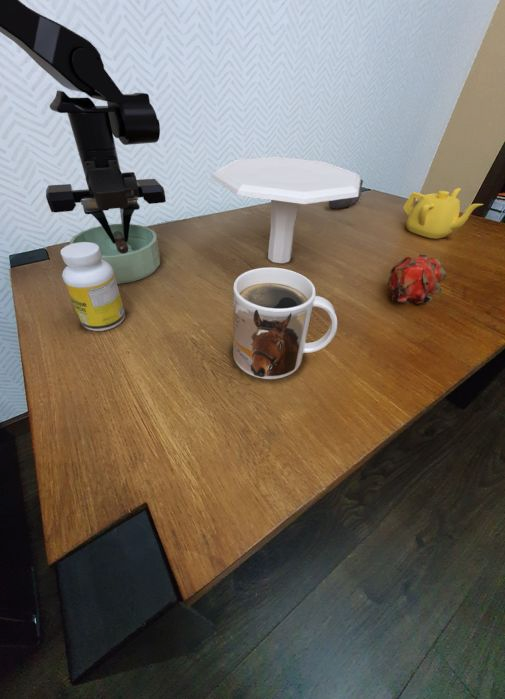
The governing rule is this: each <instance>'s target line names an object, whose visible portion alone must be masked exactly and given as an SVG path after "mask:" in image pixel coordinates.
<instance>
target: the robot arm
mask: <svg viewBox="0 0 505 699" xmlns="http://www.w3.org/2000/svg"><path fill="white" fill-rule="evenodd" d="M0 33H1V34H2V35H3V36H5V37H6V38H8V39H10V40H11V41H12V42H14V43H15V44H16V45H17V46H18V47H20V48H21V49H22V50H23V51H24V52H25V53H26V54H27V55H28V56H29V58H31V59H32V60H33V61H34V62H35V63H36V64H37V65H38V66H39V67H40V68H41V69H42V70H44V71H45V72H46V73H47V74H48V75H50V76H51V77H52V78H53V80H55V81H56V82H58V83H59V84H60V85H61V86H63V87H64V88H65V89H68V90H70V91H74V92H80V93H83V94H86V95H87V96H88V97H69V95H68V94H67V93H66V92H65V91H63V90H56V93H55V96H54V99H53V100H52V102H50V104H49V109H50V110H51V111H53V112H55V113H60V114H67V117H68V121H69V123H70V124H69V125H70V127H71V131H72V134H73V138H74V141H75V142H74V143H75V145H76V149H77V153H78V156H79V159H80V162H81V166H82V167H81V168H82V170H83V173H84V176H85V182H86V184H87V189H85V188H84V189H73V186H72V183H67V184H65V183H64V184H50V185H49V184H48V185H47V188H46V189H45V198H46V202H47V204H48V207H49V210H50V212H51V213H64V212H73V211H74V210H75V208H76V206H77V204H78V203H80V205H81V206H82V208H83V212H84V214H85V215H92V217H94V218H95V219H96V221H97V222H98V223H99V224H100V226H102V227H103V228H104V230H105V231H106V233H107V235H108V236H109V238H110V239H111V241H112V242H113V244H115V240H114V236H113V233H112V231H111V228H110V226H109V225H110V223H109V221H108V219H107V216H106V214H105V212H106V211H109V210H113V209H119V213H120V214H119V215H120V221H121V224H122V230H123V235H124V239H125V241H126V242H128V236H129V227H130V224H131V220H132V217H133V214H134V212H135V211H136V210H141V209H140V208H141V207H140V203H139V202H138V201H139V198H142V199H143V201H145V202H146V203H147V204H149V205H154V204H164V203H166V202H167V200H166V192H165V188H164V186H163V185H162V184H161V183H160V182H159V181H158V180H157V179H156V178H145V179H137V176H136V173H135V172H134V171H129V172H122V171H121V166H120V161H119V157H118V152H117V148H116V143H115V138H116V139H118V140H119V141H120V143H121V144H122V145H123V146H129V145H130V146H131V145H140V144H142V145H143V144H153V143H155V144H156V143H157V142H158V141H159V140H160V136H161V125H160V120H159V119H158V116H157V113H156V111H155V109H154V106H153V105H152V104H151V101H150V100H151V99H150V95H149V93H146V92H134V93H123V92H122V91H121V89H120V88H119V87H118V85H117V84H116V83H115V82H114V80H113V79H112V77H111V76H110V75H109V73H108V71H107V70H106V69H105V65H104V62H103V60H102V56H101V53H100V52H99V50H98V49H97V48H96V46H95V45H94V44H93V43H92V42H91V41H89V40H88V39H86V38H85V37H83V36H81V35H80V34H78V33H76V32H75V31H73V30H71V29H69V28H68V27H66V26H65V25H63V24H61V23H59V22H57V21H55V20H53V19H50V18H48V17H46V16H44V15H42V14H40V13H39V12H37V11H35V10H34V9H32V8H30V7H28V6H27V5H25V4H24V3H23V2H22V1H21V0H0ZM92 99H94V100H100V101H104V102H106V105H95V103H94V101H93V100H92Z"/></svg>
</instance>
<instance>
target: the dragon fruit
mask: <svg viewBox="0 0 505 699" xmlns="http://www.w3.org/2000/svg"><path fill="white" fill-rule="evenodd" d="M446 278H447V271H446V270H445V268H444V266H443V265H442V263H441V260H440V259H439V258H436V257H427V255H426V254H424V253H420V254H419V255H418V256H417V257H416V258H413V257H411V256H406V257H404V258H402V259H401V260H400V261H399V262H398V263H397V264H396V265H394V266H393V267H392V269H391V270H390V272H389V277H388V280H387V286H389V290H390V293H391V294H392V295H391V301H392V302H395V301H397V302H398V303H403V304H408V303H410V302H411V300H413V302H414V303H415V304H427V303H429V302H431V301H433V300H434V298H433V297H432V296H429V295H428V294H431V295H439V294H441V293H442V291H443V289H442V288H441V285H440V283H442V282H443V281H444V280H445V279H446Z"/></svg>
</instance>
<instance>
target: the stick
mask: <svg viewBox="0 0 505 699" xmlns="http://www.w3.org/2000/svg"><path fill="white" fill-rule="evenodd" d="M113 236H114V240H115V245H116V247H117V250H118V252H119V253H121V254H125V253H127V252H128V246H127V243H126V241H125V239H124V236H123V234H122V233H121V232H119V231H116V232H114V233H113Z"/></svg>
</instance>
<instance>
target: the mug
mask: <svg viewBox="0 0 505 699" xmlns="http://www.w3.org/2000/svg"><path fill="white" fill-rule="evenodd" d="M316 292H317V291H316V288H315V285H314V283H313V282H312V281H311V280H310V279H309V278H308V277H306V276H304V275H303V274H301V273H299V272H297V271H293V270H290V269H287V268H282V267H271V266H269V267H257V268H254V269H250V270H247V271H245V272H243V273H241V274H240V275H238V277H237V278H236V279H235V280H234V282H233V287H232V355H233V359H234V362H235V364H236V365H237V366H238V368H240V369H241V370H242V371H243V372H244V373H246V374H248V375H250V376H252V377H254V378H258V379H263V380H276V379H283V378H285V377H288V376H290V375H291V374H293V373H294V372H296V371H297V370H298V369H299V367H300V366H301V364H302V361H303V357H304V354H311V353H316V352H318V351H321V350H323V349H324V348H326V347H327V346H328V345H329V344H331V342H332V341H333V339H334V337H335V336H336V333H337V330H338V318H337V312H336V309H335V307H334V306H333V304H332V303H331V302H330V301H329V300H328V299H327V298H325V297H322V296H319V295H317V294H316ZM314 307H315V308H320V309H321V310H324V311H325V312H326V313H327V314H328V316H329V318H330V324H329V327H328V330H327V331H326V333H324V335H323V336H322V337H320V338H319V339H317V340H315V341H313V342H307V338H308V333H309V328H310V322H311V320H312V319H311V318H312V314H313V309H314Z"/></svg>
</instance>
